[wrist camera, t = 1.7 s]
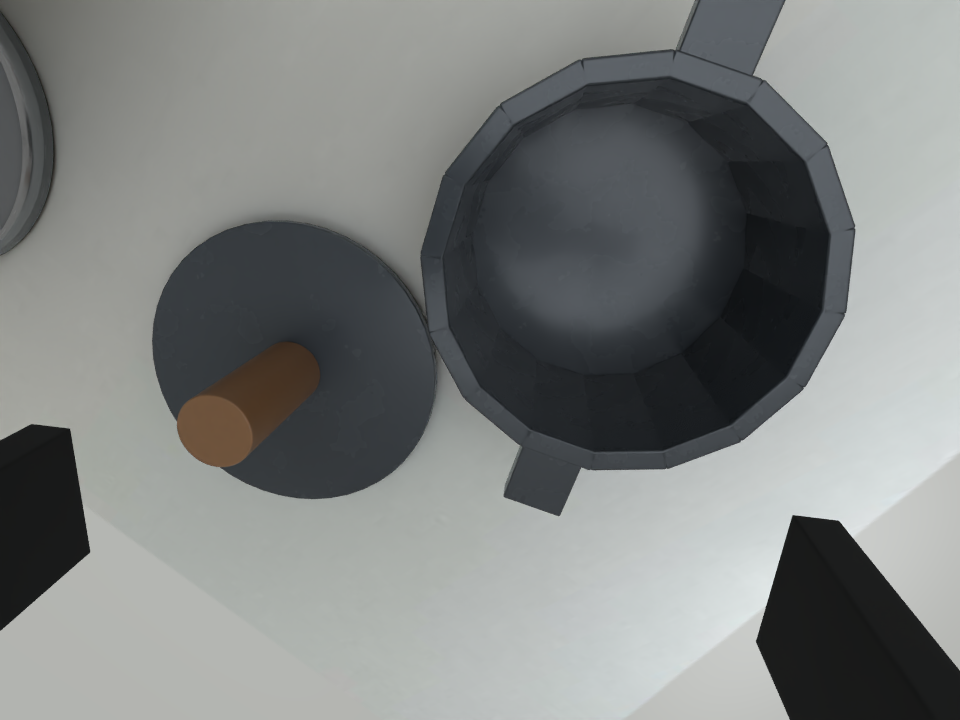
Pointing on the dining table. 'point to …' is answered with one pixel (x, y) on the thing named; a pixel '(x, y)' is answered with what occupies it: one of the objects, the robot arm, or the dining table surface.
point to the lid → (294, 360)
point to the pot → (639, 257)
